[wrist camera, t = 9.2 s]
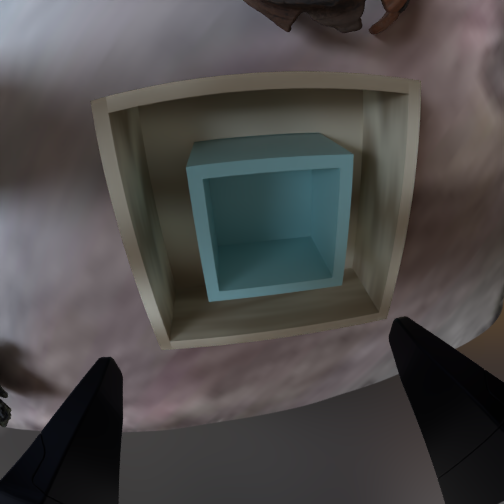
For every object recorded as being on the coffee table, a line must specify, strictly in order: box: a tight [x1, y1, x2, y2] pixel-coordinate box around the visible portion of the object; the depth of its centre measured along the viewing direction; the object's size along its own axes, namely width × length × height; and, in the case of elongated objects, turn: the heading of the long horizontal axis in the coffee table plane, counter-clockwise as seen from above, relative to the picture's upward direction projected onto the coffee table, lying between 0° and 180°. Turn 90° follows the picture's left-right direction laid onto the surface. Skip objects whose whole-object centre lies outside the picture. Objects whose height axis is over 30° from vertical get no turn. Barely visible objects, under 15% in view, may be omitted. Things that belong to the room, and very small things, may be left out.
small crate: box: [186, 133, 354, 302], centre depth 16 cm, size 7×7×5 cm
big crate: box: [90, 71, 421, 350], centre depth 16 cm, size 14×14×6 cm
